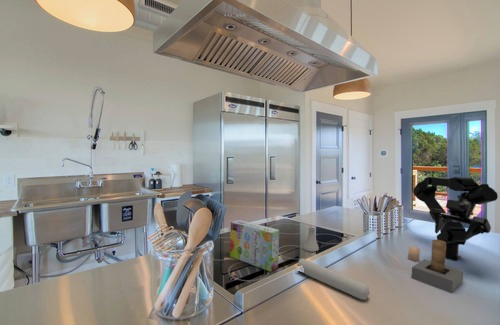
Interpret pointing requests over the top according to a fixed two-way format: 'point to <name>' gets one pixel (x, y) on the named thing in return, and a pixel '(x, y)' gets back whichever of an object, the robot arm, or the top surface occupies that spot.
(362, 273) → the top surface
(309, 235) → the flask
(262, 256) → the snack box
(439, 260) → the tall pin
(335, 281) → the tube
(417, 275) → the grey square socket block
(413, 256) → the short pin
